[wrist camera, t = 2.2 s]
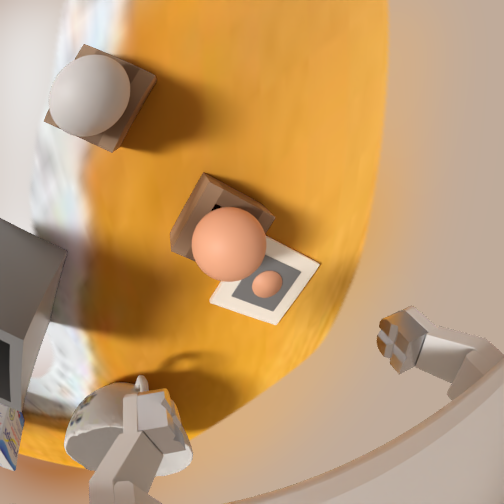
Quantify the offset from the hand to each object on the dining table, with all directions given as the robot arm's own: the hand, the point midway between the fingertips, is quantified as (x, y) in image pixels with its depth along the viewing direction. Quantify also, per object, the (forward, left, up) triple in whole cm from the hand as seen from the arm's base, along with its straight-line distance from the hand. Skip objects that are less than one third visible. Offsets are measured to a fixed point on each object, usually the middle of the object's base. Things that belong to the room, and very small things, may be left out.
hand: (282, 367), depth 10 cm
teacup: (+20, 0, -14) cm, 25 cm away
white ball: (-4, -11, -9) cm, 15 cm away
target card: (+3, +6, -14) cm, 16 cm away
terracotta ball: (0, 0, -9) cm, 9 cm away
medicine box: (+32, -14, -14) cm, 37 cm away
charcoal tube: (+11, -13, -14) cm, 22 cm away
